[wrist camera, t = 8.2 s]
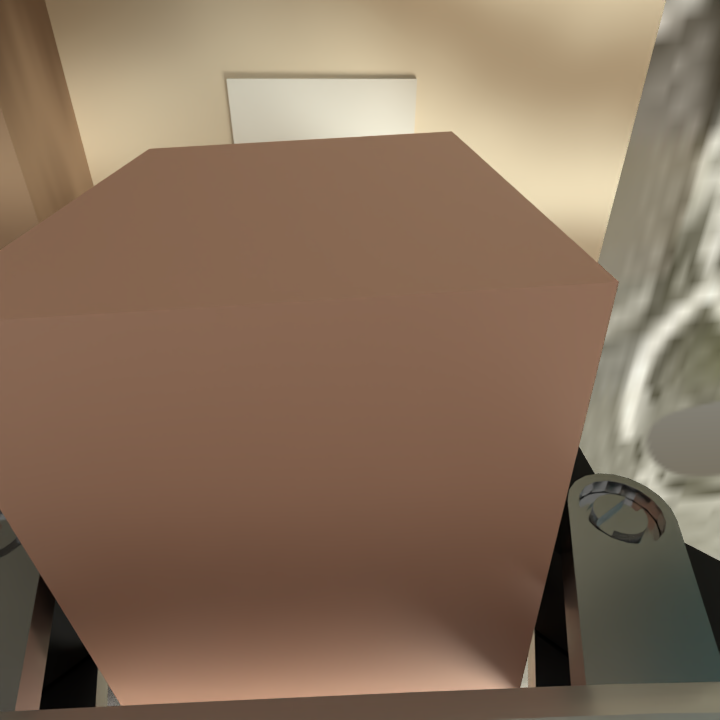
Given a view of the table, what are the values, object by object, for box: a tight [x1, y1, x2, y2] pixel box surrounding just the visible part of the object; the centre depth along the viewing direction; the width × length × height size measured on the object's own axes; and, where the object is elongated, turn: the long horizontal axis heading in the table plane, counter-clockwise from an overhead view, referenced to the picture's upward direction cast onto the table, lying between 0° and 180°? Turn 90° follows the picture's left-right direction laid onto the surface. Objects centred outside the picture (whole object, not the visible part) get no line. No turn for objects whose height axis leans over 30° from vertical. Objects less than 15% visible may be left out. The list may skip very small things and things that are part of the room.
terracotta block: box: [0, 131, 619, 706], centre depth 9 cm, size 5×9×6 cm, turn 3°
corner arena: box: [0, 0, 666, 263], centre depth 18 cm, size 22×20×5 cm
